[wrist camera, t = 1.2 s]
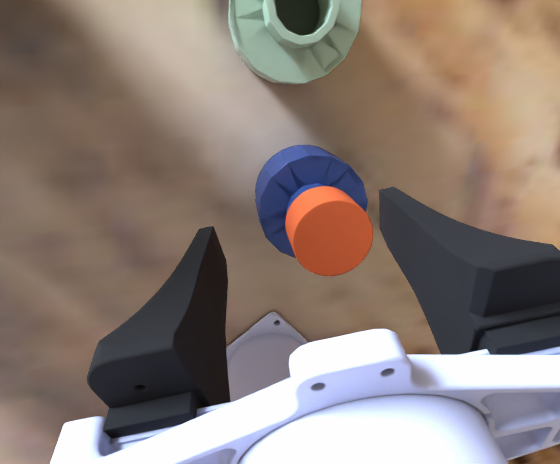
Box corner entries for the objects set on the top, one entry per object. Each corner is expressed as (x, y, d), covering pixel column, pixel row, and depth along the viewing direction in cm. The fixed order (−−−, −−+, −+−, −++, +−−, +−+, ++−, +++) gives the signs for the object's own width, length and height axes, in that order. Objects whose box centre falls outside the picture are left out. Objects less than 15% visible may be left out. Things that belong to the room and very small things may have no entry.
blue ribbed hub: (364, 194, 27) (400, 223, 22) (295, 251, 28) (312, 294, 23) (308, 123, 25) (332, 135, 19) (235, 189, 26) (237, 218, 20)
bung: (363, 215, 22) (389, 241, 19) (311, 258, 23) (326, 291, 19) (322, 165, 21) (341, 182, 17) (267, 212, 22) (275, 238, 18)
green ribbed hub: (359, 32, 23) (402, 14, 17) (279, 106, 24) (294, 112, 18) (291, -73, 21) (315, -133, 15) (205, 15, 22) (196, -10, 16)
